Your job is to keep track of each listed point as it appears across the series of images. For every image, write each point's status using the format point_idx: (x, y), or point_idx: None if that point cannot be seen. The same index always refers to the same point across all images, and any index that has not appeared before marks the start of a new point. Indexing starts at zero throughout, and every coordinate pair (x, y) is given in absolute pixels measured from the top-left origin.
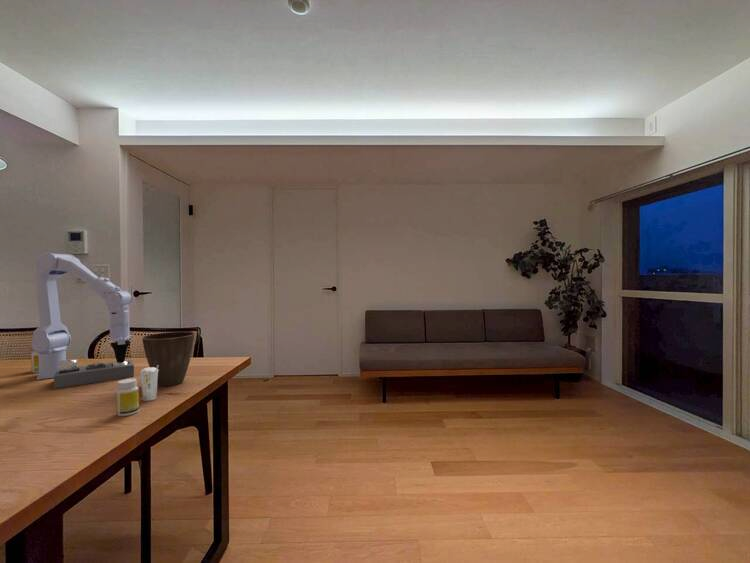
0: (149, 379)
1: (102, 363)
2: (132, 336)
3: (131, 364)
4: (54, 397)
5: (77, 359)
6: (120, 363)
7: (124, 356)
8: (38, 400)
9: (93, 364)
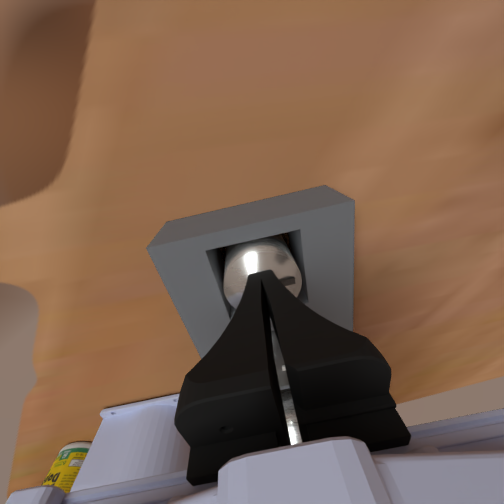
0: None
1: (279, 350)
2: (376, 470)
3: (321, 217)
4: (431, 349)
5: (301, 442)
6: (300, 278)
7: (283, 287)
8: (429, 367)
9: (280, 373)
